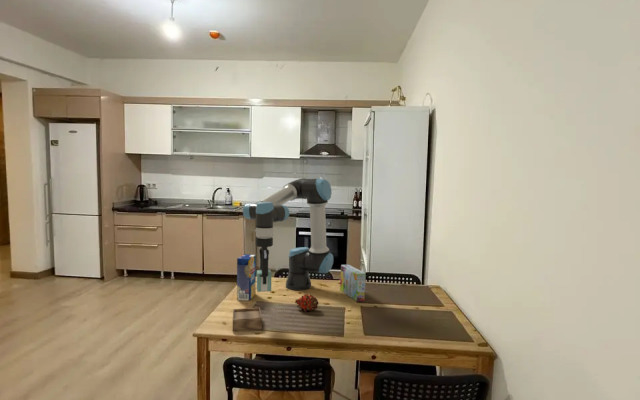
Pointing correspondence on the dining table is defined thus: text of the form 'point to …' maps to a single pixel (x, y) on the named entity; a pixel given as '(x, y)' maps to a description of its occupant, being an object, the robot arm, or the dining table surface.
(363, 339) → the dining table surface
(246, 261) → the beverage box
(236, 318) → the tray
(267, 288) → the block
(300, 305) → the dragon fruit
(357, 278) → the snack box
